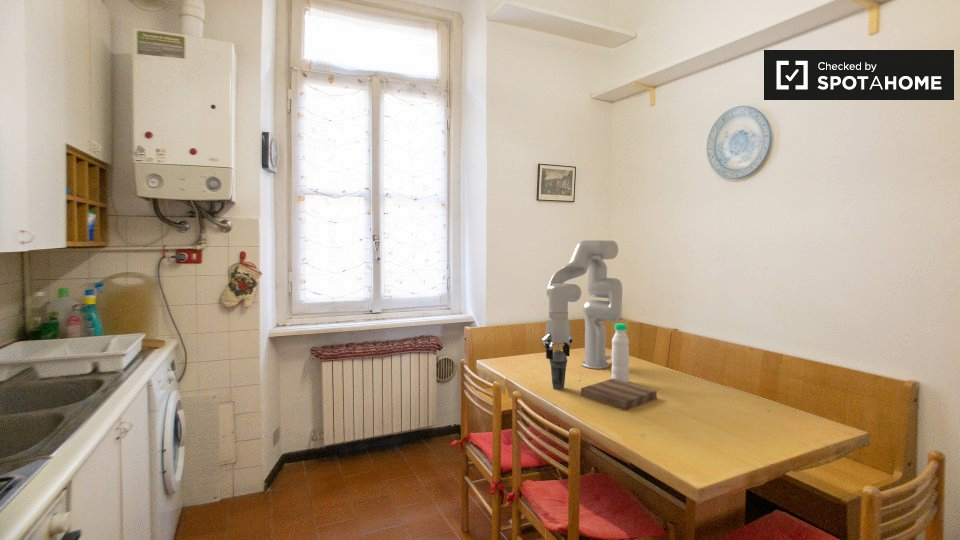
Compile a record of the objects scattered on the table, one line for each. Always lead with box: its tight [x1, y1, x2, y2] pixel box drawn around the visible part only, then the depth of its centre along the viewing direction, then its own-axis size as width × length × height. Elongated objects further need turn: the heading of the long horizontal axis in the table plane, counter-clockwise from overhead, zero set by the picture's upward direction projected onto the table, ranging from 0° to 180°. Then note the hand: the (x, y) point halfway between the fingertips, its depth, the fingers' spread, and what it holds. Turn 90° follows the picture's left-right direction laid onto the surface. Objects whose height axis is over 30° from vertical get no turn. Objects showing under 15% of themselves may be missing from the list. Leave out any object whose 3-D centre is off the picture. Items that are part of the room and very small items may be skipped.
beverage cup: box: [549, 344, 568, 391], centre depth 189 cm, size 7×7×20 cm
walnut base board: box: [580, 378, 658, 411], centre depth 178 cm, size 20×20×3 cm
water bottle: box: [610, 322, 630, 383], centre depth 196 cm, size 7×7×25 cm
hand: (557, 357), depth 189 cm, fingers open, 9 cm apart
